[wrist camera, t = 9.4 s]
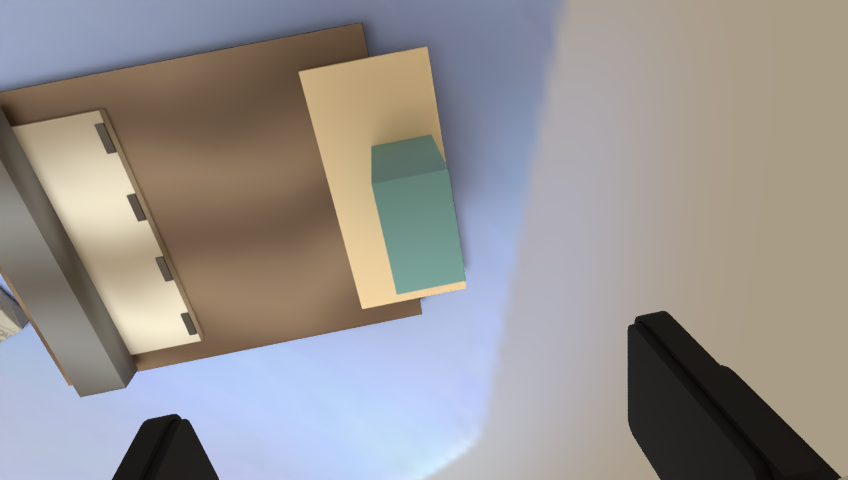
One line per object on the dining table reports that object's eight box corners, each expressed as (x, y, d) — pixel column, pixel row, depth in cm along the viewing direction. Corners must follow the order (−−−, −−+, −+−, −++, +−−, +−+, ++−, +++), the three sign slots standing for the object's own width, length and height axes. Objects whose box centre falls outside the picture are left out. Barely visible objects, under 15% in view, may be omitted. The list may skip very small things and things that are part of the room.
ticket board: (-72, 106, 24) (-142, 120, 21) (361, 22, 24) (360, 23, 21) (82, 369, 31) (47, 411, 27) (419, 300, 31) (425, 334, 28)
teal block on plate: (299, 70, 23) (276, 90, 18) (426, 46, 24) (445, 57, 18) (362, 304, 29) (360, 379, 23) (464, 283, 29) (488, 353, 23)
